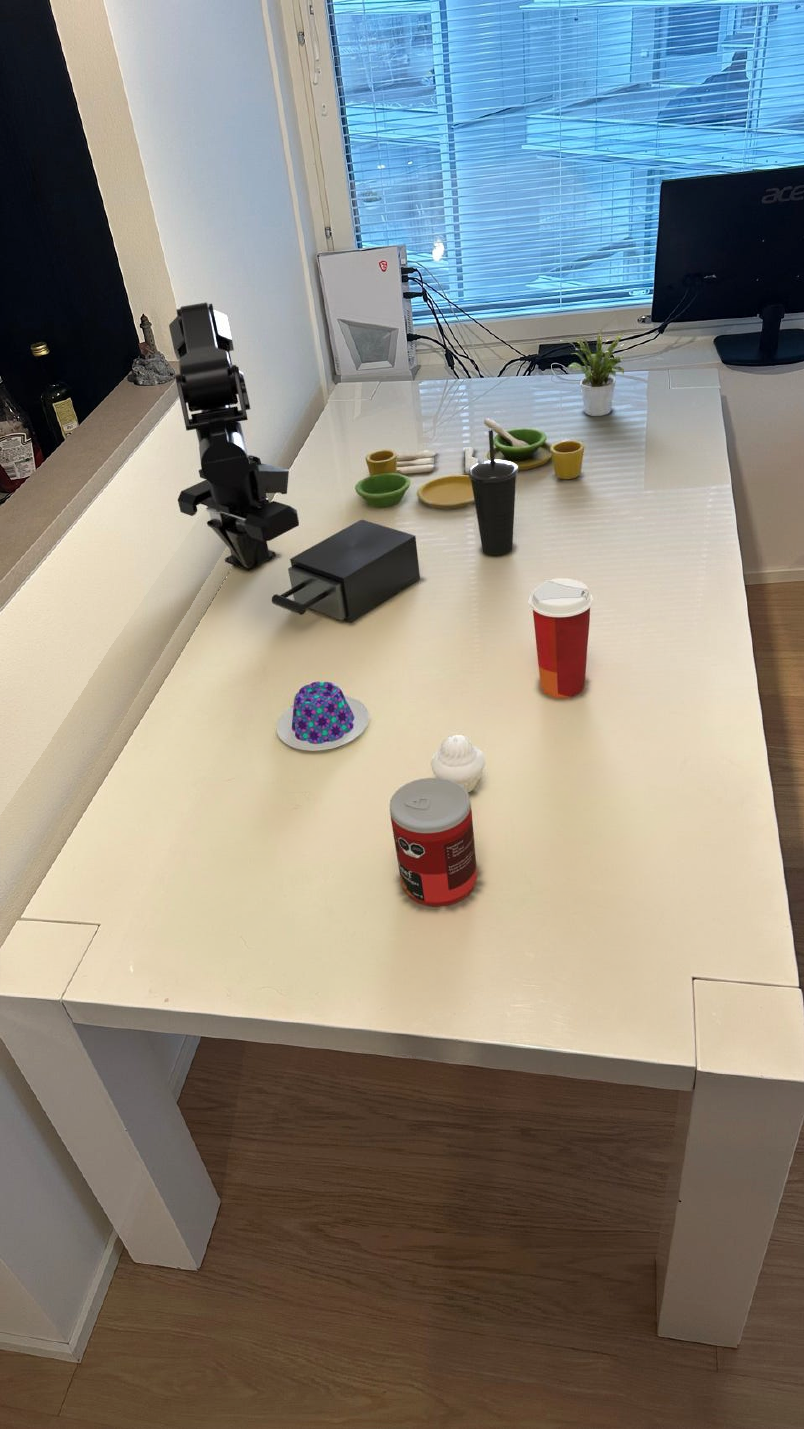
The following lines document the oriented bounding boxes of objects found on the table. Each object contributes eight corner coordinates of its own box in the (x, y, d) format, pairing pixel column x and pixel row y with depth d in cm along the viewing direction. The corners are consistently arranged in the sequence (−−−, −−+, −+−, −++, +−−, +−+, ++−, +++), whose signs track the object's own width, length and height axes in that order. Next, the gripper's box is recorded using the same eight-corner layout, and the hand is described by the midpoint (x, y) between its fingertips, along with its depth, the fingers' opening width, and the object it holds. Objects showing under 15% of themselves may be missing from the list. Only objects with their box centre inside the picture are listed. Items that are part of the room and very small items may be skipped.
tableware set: (577, 441, 196) (577, 409, 193) (589, 502, 174) (589, 467, 170) (368, 458, 201) (364, 427, 198) (354, 519, 179) (349, 485, 175)
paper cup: (597, 672, 132) (598, 578, 124) (586, 706, 127) (586, 609, 119) (539, 666, 135) (536, 574, 127) (525, 699, 129) (521, 604, 121)
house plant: (554, 426, 204) (553, 344, 195) (558, 402, 215) (556, 323, 206) (627, 423, 201) (629, 340, 192) (626, 399, 212) (628, 319, 203)
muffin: (434, 770, 120) (428, 723, 116) (486, 767, 119) (482, 720, 115) (433, 805, 115) (427, 757, 111) (487, 802, 114) (483, 753, 110)
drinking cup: (518, 560, 160) (513, 438, 148) (470, 560, 162) (461, 440, 150) (523, 538, 166) (518, 419, 154) (477, 538, 167) (469, 421, 156)
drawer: (313, 638, 146) (306, 603, 142) (266, 618, 152) (258, 584, 148) (407, 579, 157) (403, 546, 153) (359, 563, 163) (354, 530, 160)
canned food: (398, 860, 108) (386, 782, 102) (472, 850, 108) (464, 771, 102) (404, 913, 102) (391, 833, 95) (482, 903, 102) (475, 822, 95)
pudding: (348, 761, 123) (342, 727, 120) (261, 748, 127) (253, 714, 124) (384, 704, 132) (379, 671, 129) (301, 694, 136) (294, 661, 133)
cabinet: (350, 623, 150) (343, 578, 145) (298, 602, 157) (289, 558, 152) (420, 579, 158) (415, 535, 154) (367, 561, 165) (361, 519, 161)
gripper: (319, 449, 129) (337, 558, 139) (227, 426, 141) (249, 528, 150) (253, 481, 123) (277, 593, 132) (163, 454, 134) (190, 559, 143)
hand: (249, 566), depth 140 cm, fingers closed
